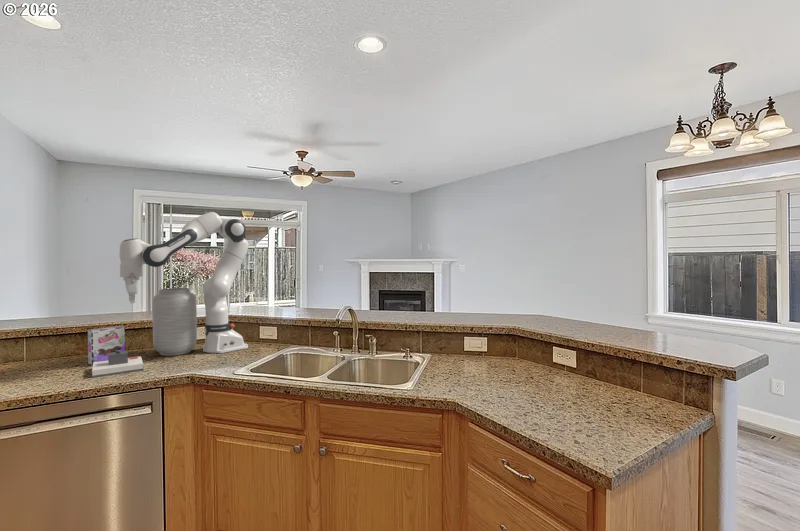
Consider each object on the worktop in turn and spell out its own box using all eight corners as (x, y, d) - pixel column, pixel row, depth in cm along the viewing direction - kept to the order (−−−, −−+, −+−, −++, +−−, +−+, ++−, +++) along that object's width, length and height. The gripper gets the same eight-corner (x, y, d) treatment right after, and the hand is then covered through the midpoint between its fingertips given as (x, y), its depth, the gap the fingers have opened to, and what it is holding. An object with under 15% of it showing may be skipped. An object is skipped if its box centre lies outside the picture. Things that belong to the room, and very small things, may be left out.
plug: (127, 364, 183) (127, 348, 182) (128, 366, 178) (127, 350, 178) (108, 366, 179) (108, 350, 178) (108, 369, 174) (108, 353, 174)
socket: (141, 362, 190) (140, 354, 190) (143, 370, 177) (143, 362, 177) (93, 368, 180) (93, 361, 179) (92, 377, 167) (92, 369, 167)
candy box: (91, 366, 184) (91, 330, 184) (87, 364, 188) (86, 329, 187) (126, 359, 195) (125, 326, 195) (121, 358, 199) (121, 325, 198)
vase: (192, 346, 223) (191, 286, 223) (201, 353, 208) (200, 289, 207) (150, 352, 211) (149, 288, 210) (156, 359, 195) (155, 291, 194)
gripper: (140, 273, 181) (141, 303, 181) (138, 272, 197) (138, 299, 197) (123, 274, 177) (124, 305, 177) (122, 272, 193) (123, 300, 194)
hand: (132, 302), depth 188 cm, fingers open, 8 cm apart
